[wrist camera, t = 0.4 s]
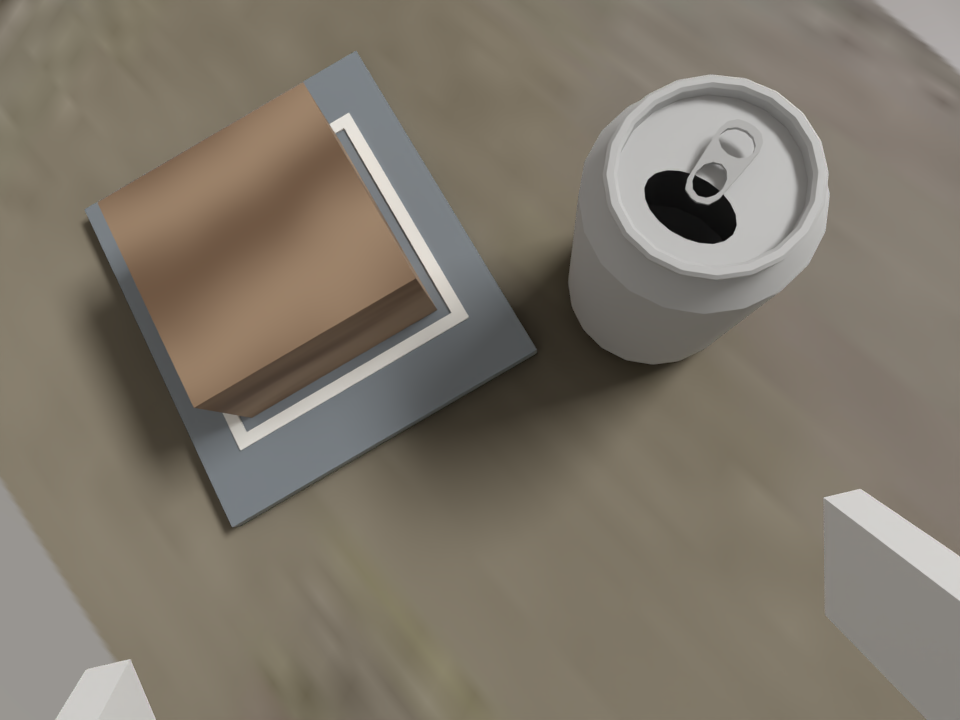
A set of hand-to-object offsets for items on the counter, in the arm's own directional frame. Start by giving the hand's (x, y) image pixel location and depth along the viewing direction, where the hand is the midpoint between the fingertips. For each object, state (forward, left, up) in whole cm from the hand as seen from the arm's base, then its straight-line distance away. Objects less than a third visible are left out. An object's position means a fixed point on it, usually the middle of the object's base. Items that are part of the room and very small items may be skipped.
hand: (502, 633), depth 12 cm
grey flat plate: (+16, +3, -17) cm, 23 cm away
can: (+7, -11, -17) cm, 21 cm away
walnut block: (+16, +3, -16) cm, 23 cm away
